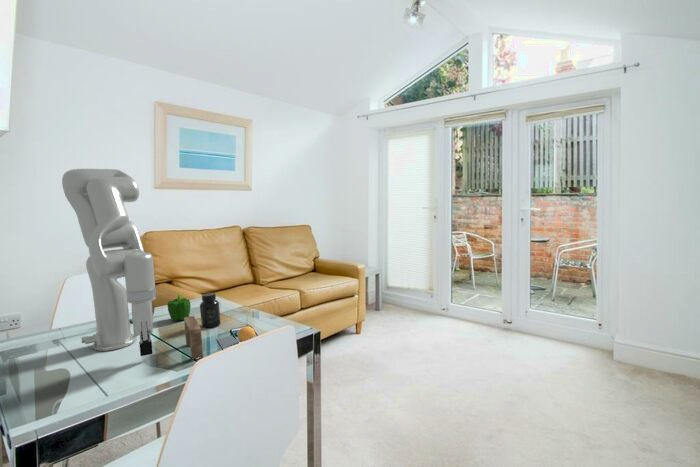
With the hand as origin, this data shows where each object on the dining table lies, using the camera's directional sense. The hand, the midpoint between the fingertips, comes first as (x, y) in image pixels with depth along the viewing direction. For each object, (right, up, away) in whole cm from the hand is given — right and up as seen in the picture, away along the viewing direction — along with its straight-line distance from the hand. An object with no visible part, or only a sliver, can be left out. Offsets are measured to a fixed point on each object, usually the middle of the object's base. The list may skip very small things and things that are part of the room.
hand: (146, 354), depth 117 cm
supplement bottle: (+9, +1, +30) cm, 31 cm away
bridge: (+12, -1, +6) cm, 13 cm away
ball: (+27, +3, +11) cm, 29 cm away
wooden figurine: (-22, +2, +41) cm, 46 cm away
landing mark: (+24, 0, +13) cm, 27 cm away
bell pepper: (-6, +2, +38) cm, 39 cm away
